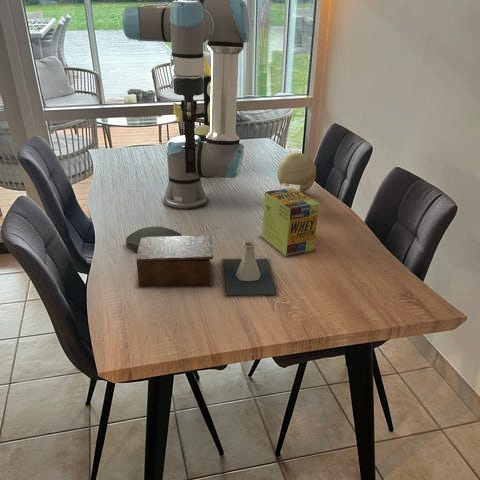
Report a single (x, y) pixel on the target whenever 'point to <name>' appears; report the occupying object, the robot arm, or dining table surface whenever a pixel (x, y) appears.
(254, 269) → the flask
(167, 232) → the dark grey disc
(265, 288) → the place mat
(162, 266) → the open wooden box
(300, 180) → the beige round ball
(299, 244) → the protein box
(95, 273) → the dining table surface
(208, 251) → the lid
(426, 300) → the dining table surface
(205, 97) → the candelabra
